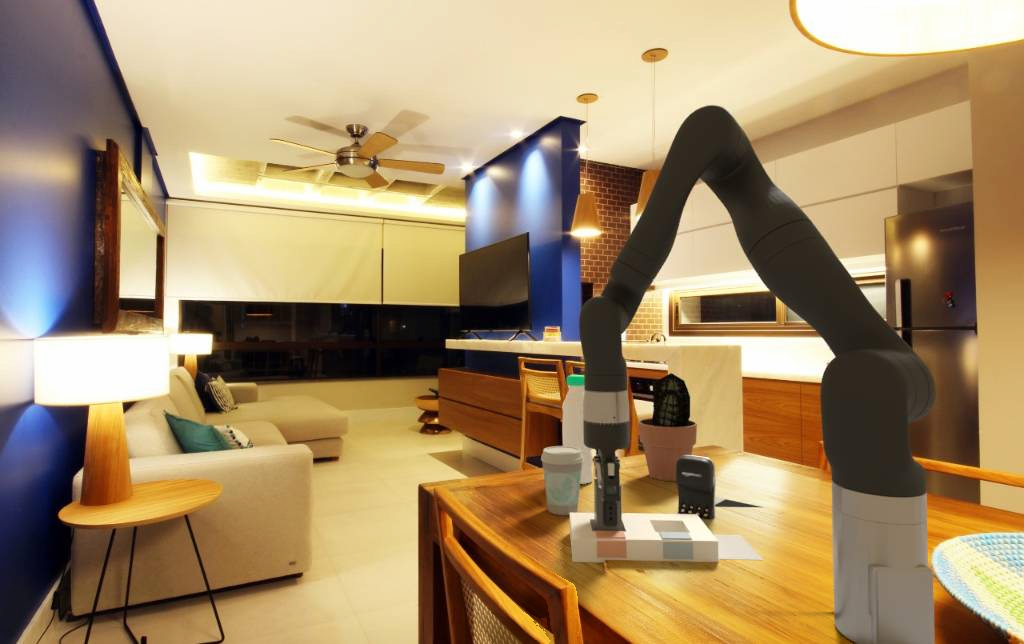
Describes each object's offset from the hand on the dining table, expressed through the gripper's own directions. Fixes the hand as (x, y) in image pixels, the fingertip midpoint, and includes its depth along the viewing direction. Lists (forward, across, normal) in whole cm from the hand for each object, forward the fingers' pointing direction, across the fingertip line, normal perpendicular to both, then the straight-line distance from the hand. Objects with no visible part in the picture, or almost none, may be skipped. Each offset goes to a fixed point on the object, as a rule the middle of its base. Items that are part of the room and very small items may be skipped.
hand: (607, 516), depth 89 cm
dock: (+5, 0, -5) cm, 7 cm away
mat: (+5, 0, -19) cm, 20 cm away
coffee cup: (+5, +18, +7) cm, 20 cm away
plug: (+4, 0, 0) cm, 4 cm away
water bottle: (+5, +39, +3) cm, 39 cm away
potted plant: (+5, +44, -19) cm, 48 cm away
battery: (+5, +15, -18) cm, 24 cm away
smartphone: (+6, +19, -29) cm, 35 cm away
